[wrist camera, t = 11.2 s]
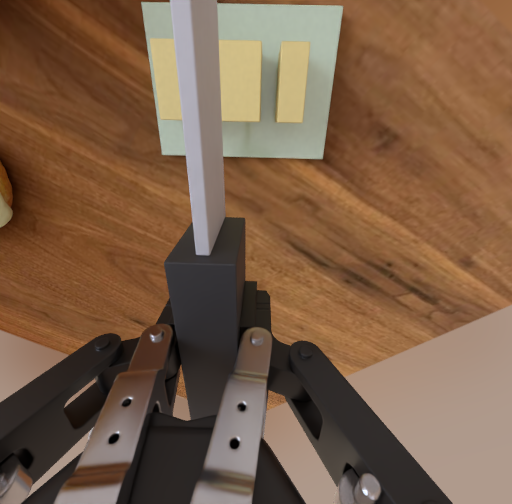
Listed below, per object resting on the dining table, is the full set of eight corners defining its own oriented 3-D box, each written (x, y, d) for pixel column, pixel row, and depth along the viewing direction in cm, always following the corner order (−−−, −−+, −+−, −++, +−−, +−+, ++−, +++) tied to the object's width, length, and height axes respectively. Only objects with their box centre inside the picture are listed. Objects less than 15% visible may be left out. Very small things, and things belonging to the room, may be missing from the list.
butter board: (320, 157, 23) (322, 159, 22) (165, 153, 23) (162, 154, 22) (339, 11, 18) (343, 5, 17) (146, 7, 18) (140, 1, 18)
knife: (245, -153, 7) (221, -497, 3) (245, 349, 16) (239, 423, 12) (160, -154, 7) (31, -494, 3) (208, 348, 16) (190, 421, 12)
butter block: (260, 122, 21) (259, 122, 18) (175, 119, 21) (159, 119, 18) (262, 53, 19) (262, 40, 16) (167, 51, 19) (148, 37, 16)
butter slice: (297, 123, 21) (302, 123, 18) (275, 122, 21) (277, 122, 18) (302, 54, 19) (310, 41, 16) (278, 54, 19) (281, 40, 16)
